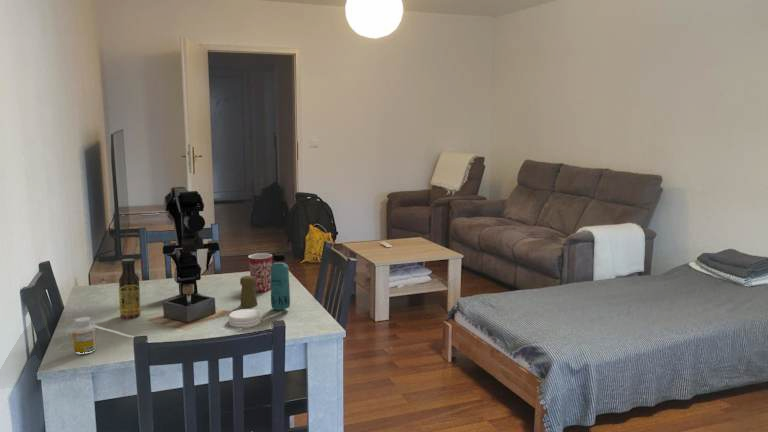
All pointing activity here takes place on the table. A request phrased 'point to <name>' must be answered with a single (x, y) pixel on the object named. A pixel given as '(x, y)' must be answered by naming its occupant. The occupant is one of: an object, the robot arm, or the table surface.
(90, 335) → the supplement bottle
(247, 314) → the white round container
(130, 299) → the sauce bottle
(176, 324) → the tan square board
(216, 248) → the robot arm
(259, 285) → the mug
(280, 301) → the beverage bottle
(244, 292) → the pepper shaker
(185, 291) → the plunger
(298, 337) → the table surface
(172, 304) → the shallow square tray
